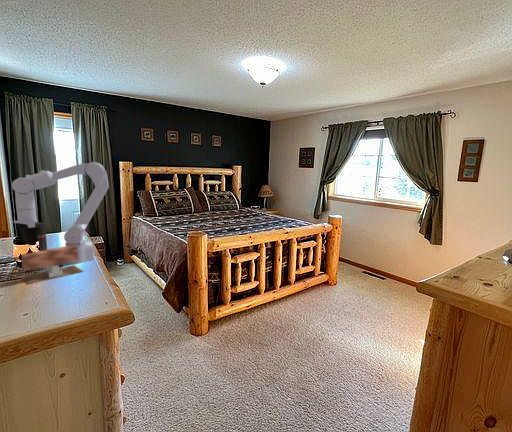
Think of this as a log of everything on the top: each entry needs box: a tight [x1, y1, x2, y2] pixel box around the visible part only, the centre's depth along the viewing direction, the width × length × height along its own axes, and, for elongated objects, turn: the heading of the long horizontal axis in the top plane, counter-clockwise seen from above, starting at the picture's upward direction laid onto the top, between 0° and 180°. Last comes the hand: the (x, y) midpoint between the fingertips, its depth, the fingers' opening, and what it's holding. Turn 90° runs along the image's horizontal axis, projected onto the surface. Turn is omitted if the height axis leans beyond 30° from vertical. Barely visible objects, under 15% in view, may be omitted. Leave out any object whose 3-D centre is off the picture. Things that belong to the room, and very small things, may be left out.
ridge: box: [42, 264, 64, 279], centre depth 102 cm, size 4×9×4 cm, turn 49°
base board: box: [20, 264, 84, 285], centre depth 102 cm, size 17×11×1 cm, turn 139°
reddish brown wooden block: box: [20, 245, 78, 271], centre depth 101 cm, size 16×4×5 cm, turn 145°
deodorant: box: [35, 222, 48, 251], centre depth 127 cm, size 6×6×15 cm
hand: (29, 243), depth 109 cm, fingers open, 7 cm apart
